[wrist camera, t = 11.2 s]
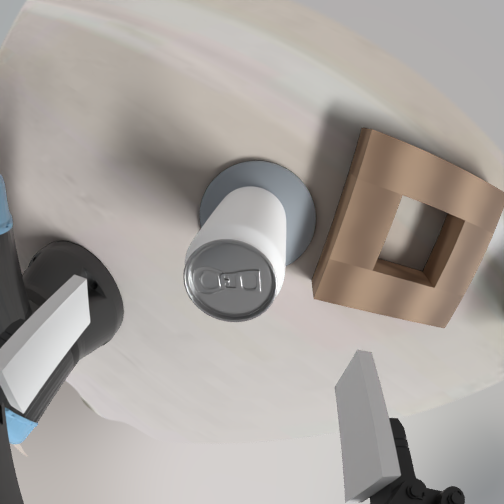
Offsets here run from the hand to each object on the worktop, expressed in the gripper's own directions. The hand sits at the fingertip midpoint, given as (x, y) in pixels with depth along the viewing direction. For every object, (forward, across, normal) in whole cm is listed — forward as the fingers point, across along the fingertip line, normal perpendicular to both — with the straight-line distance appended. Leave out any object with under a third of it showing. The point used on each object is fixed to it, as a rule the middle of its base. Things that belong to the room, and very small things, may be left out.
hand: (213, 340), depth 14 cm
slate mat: (+18, +1, 0) cm, 18 cm away
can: (+17, 0, 0) cm, 17 cm away
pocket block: (+17, +16, +3) cm, 24 cm away
